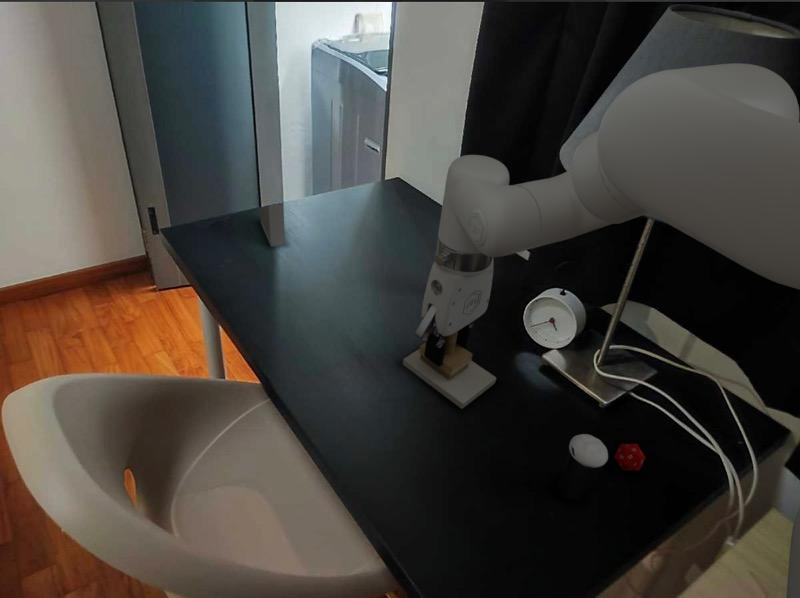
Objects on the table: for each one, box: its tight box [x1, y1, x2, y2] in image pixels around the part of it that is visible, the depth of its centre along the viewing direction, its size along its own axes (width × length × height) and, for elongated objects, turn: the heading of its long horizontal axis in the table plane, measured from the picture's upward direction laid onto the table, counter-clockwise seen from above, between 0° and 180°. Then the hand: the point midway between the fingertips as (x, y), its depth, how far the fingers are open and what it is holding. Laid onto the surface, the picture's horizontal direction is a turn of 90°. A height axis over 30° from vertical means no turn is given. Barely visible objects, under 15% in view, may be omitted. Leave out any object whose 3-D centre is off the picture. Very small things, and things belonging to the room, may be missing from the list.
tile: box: [402, 348, 497, 410], centre depth 88 cm, size 12×8×1 cm, turn 45°
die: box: [613, 443, 646, 472], centre depth 76 cm, size 4×3×4 cm
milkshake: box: [557, 433, 609, 502], centre depth 70 cm, size 4×5×10 cm
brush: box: [419, 331, 474, 380], centre depth 85 cm, size 6×5×8 cm
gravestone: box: [259, 201, 286, 248], centre depth 110 cm, size 3×9×18 cm, turn 22°
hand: (445, 351), depth 86 cm, fingers closed on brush, 4 cm apart
